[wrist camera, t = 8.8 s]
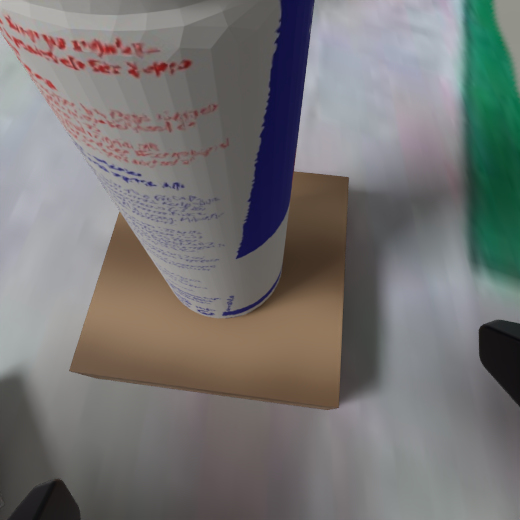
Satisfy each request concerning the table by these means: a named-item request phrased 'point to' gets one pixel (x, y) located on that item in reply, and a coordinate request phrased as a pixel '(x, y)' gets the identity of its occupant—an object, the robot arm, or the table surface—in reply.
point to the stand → (229, 329)
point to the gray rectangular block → (1, 501)
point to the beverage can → (181, 126)
